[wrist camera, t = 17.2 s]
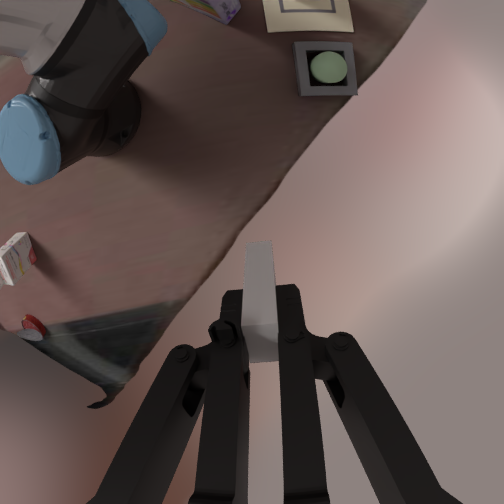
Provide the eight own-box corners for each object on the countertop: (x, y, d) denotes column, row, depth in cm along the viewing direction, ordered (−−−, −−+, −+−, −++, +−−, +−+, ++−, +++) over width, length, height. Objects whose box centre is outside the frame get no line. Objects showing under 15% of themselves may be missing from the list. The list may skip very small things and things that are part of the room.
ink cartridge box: (38, 259, 58) (8, 294, 46) (27, 258, 58) (-2, 292, 46) (27, 231, 53) (-7, 264, 41) (16, 231, 53) (-16, 263, 41)
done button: (310, 83, 38) (315, 82, 34) (306, 54, 35) (312, 51, 31) (340, 83, 37) (348, 82, 33) (337, 55, 35) (345, 51, 31)
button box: (298, 95, 39) (301, 96, 37) (292, 44, 35) (294, 41, 32) (351, 94, 39) (357, 95, 36) (346, 44, 34) (352, 42, 31)
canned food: (40, 307, 75) (35, 323, 67) (51, 329, 79) (48, 346, 71) (16, 313, 71) (10, 330, 63) (28, 335, 75) (24, 352, 67)
